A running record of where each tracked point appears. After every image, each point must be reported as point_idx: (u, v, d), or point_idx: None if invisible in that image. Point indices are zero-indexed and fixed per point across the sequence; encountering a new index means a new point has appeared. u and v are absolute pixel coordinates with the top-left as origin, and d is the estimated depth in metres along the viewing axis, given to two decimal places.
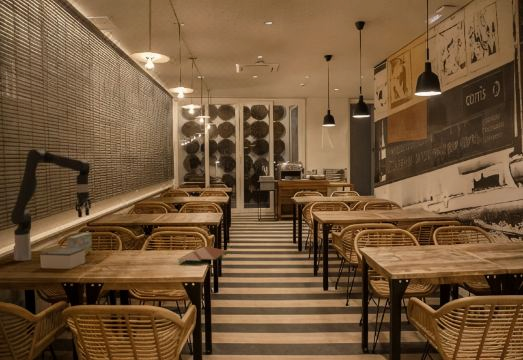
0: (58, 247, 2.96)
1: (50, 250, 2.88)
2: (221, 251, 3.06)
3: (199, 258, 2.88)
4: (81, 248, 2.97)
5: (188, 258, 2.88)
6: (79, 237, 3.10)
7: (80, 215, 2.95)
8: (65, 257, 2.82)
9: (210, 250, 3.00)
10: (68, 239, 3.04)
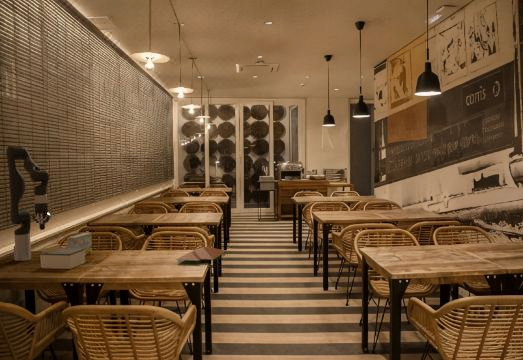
0: (58, 247, 2.96)
1: (50, 250, 2.88)
2: (220, 251, 3.06)
3: (198, 258, 2.88)
4: (81, 248, 2.97)
5: (187, 258, 2.88)
6: (79, 237, 3.10)
7: (44, 227, 2.93)
8: (65, 257, 2.82)
9: (209, 250, 3.00)
10: (68, 239, 3.04)
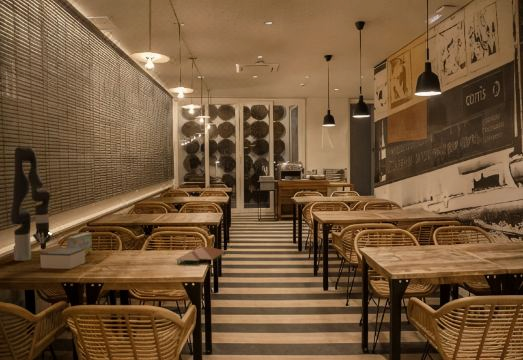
0: (58, 247, 2.96)
1: (50, 250, 2.88)
2: (220, 251, 3.06)
3: (197, 258, 2.88)
4: (81, 248, 2.97)
5: (186, 258, 2.88)
6: (79, 237, 3.10)
7: (45, 246, 2.93)
8: (65, 257, 2.82)
9: (209, 250, 3.00)
10: (68, 239, 3.04)
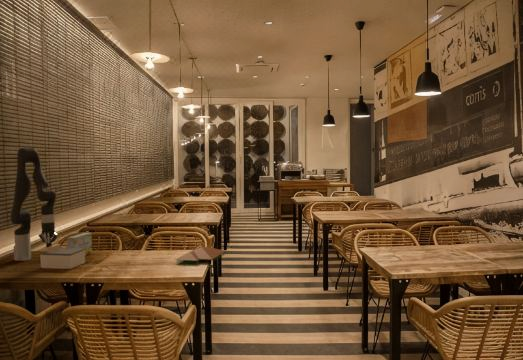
0: (59, 247, 2.96)
1: (51, 250, 2.88)
2: (219, 251, 3.05)
3: (197, 258, 2.88)
4: (82, 248, 2.97)
5: (186, 258, 2.88)
6: (79, 237, 3.10)
7: None
8: (65, 257, 2.82)
9: (208, 250, 3.00)
10: (68, 239, 3.04)
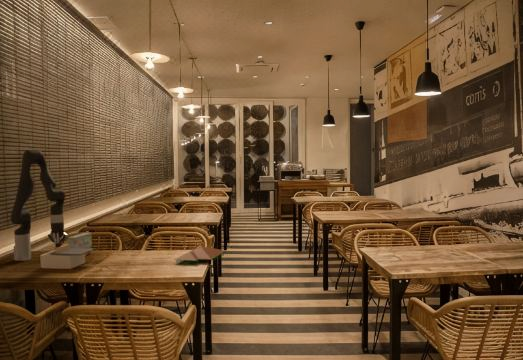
0: (68, 247, 2.95)
1: (60, 250, 2.87)
2: (219, 251, 3.05)
3: (196, 258, 2.88)
4: None
5: (185, 258, 2.88)
6: (79, 237, 3.10)
7: None
8: (65, 257, 2.82)
9: (208, 249, 3.00)
10: (68, 239, 3.04)
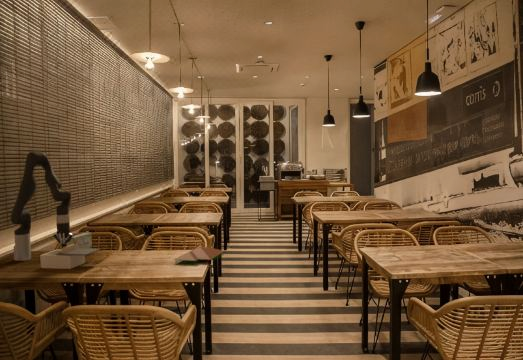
0: (74, 247, 2.94)
1: (66, 250, 2.86)
2: (218, 251, 3.05)
3: (195, 258, 2.88)
4: None
5: (184, 258, 2.88)
6: (79, 237, 3.10)
7: None
8: (65, 257, 2.82)
9: (207, 250, 3.00)
10: None
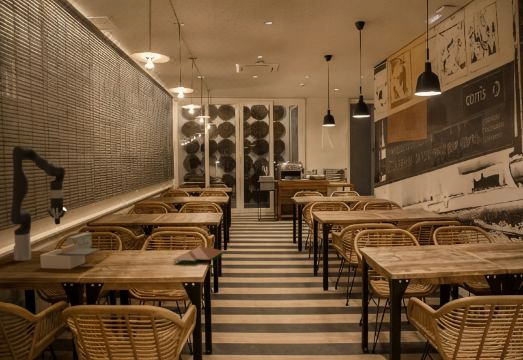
0: (74, 247, 2.94)
1: (66, 250, 2.86)
2: (217, 251, 3.05)
3: (194, 258, 2.88)
4: None
5: (183, 258, 2.88)
6: (79, 237, 3.10)
7: (59, 222, 2.94)
8: (65, 257, 2.82)
9: (206, 250, 3.00)
10: (68, 239, 3.04)
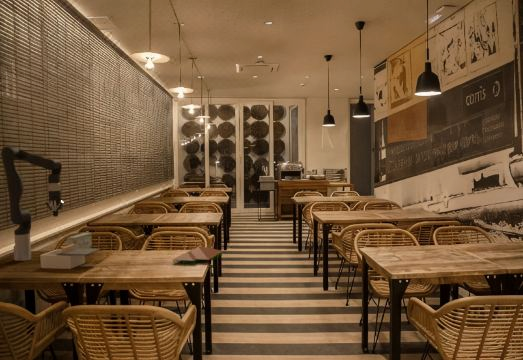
0: (74, 247, 2.94)
1: (66, 250, 2.86)
2: (216, 251, 3.05)
3: (193, 258, 2.88)
4: None
5: (182, 258, 2.88)
6: (79, 237, 3.10)
7: (57, 214, 3.04)
8: (65, 257, 2.82)
9: (205, 250, 3.00)
10: (68, 239, 3.04)
